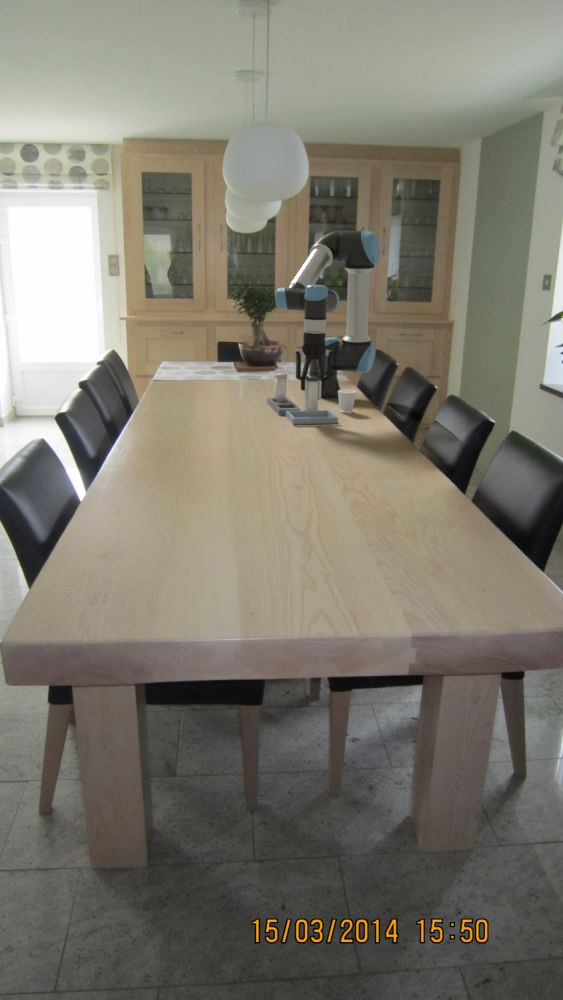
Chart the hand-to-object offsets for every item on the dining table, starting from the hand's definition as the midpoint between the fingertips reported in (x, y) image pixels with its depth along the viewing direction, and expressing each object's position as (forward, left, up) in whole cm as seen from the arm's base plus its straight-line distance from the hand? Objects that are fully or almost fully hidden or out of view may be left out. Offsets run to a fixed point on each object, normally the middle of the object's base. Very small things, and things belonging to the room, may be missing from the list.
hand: (311, 399), depth 264 cm
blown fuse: (0, 0, -4) cm, 4 cm away
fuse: (+6, -25, -7) cm, 26 cm away
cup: (-17, -14, -8) cm, 24 cm away
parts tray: (0, 0, -8) cm, 8 cm away
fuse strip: (+6, -19, -8) cm, 21 cm away
